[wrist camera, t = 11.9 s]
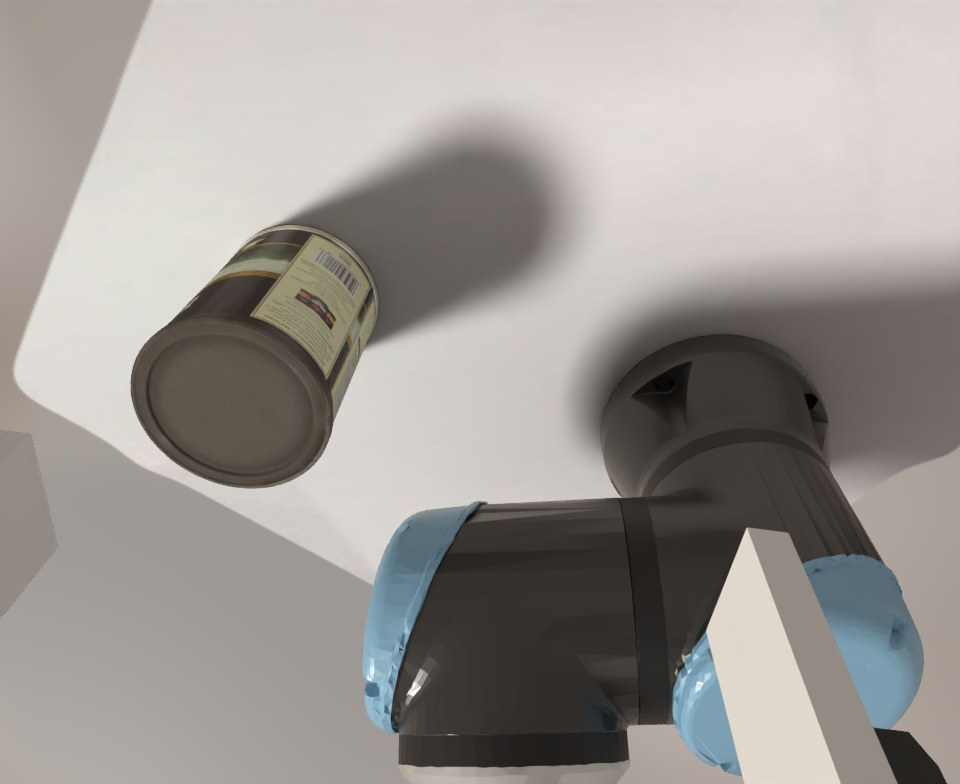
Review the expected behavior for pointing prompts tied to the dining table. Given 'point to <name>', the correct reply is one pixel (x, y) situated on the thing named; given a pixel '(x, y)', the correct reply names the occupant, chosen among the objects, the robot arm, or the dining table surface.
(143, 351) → the coffee can
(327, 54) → the dining table surface
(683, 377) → the robot arm
